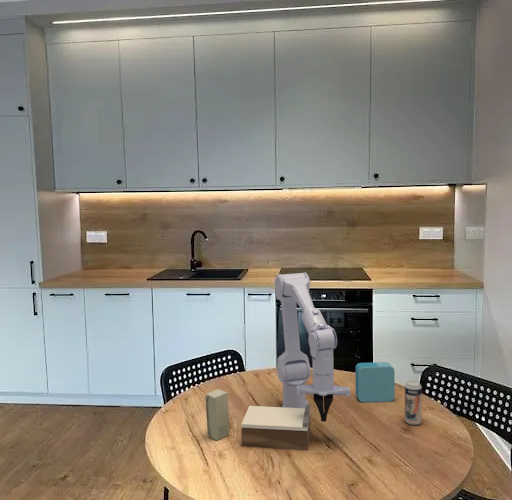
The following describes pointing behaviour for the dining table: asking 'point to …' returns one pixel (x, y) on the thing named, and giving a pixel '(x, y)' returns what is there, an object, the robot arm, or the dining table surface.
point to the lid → (277, 418)
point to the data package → (375, 382)
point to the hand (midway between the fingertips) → (323, 419)
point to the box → (217, 414)
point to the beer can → (413, 402)
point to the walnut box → (276, 438)
